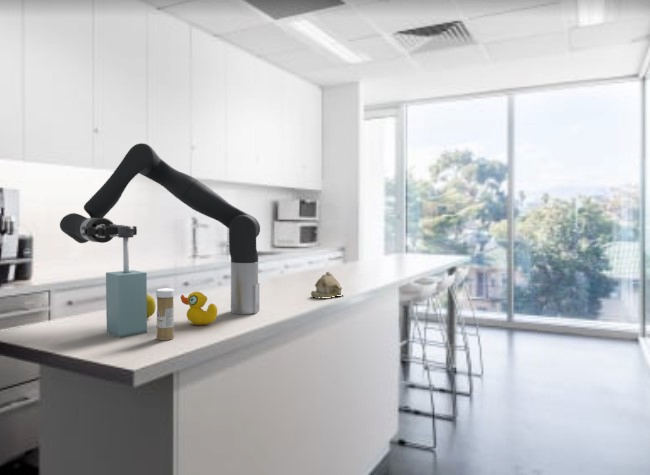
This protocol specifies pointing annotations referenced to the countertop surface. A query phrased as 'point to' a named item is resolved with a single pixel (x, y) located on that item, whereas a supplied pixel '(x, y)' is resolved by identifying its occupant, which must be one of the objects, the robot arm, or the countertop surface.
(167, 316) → the sprinkles bottle
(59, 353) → the countertop surface
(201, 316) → the duckling
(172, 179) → the robot arm
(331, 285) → the ceramic model
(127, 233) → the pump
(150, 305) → the lemon
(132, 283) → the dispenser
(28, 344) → the countertop surface
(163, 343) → the countertop surface
